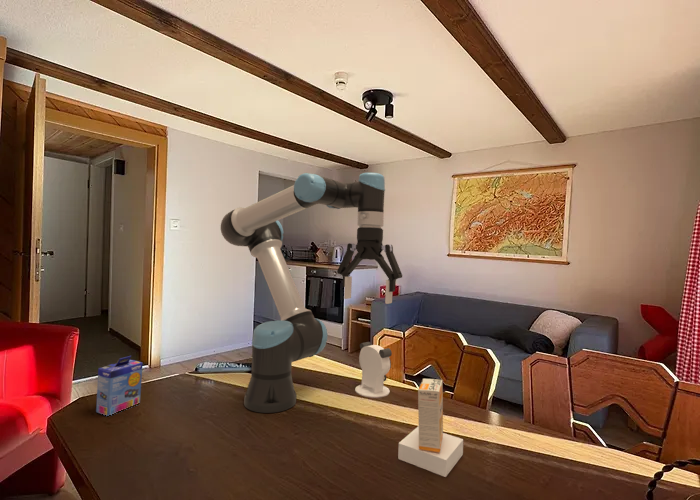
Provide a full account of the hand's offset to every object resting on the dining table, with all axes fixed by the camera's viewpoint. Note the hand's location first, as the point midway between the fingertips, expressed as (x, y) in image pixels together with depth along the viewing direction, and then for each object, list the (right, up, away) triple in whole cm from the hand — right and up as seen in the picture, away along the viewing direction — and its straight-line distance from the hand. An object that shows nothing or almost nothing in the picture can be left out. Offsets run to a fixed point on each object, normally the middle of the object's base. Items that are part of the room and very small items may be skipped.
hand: (367, 300), depth 109 cm
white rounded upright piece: (+3, -32, +15) cm, 36 cm away
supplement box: (+13, -29, -24) cm, 40 cm away
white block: (+13, -33, -23) cm, 42 cm away
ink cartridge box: (-69, -29, -5) cm, 75 cm away
